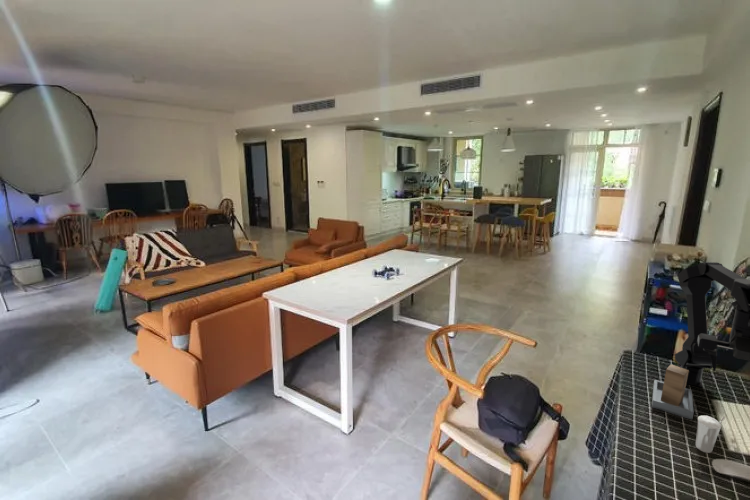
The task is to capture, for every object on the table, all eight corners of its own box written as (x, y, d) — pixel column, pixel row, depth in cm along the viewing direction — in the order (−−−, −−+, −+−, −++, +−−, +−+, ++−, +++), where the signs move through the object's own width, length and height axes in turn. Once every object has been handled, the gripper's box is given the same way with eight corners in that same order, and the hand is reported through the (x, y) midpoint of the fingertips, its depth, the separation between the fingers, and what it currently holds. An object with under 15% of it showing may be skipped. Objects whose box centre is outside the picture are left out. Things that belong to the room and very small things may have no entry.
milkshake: (723, 456, 94) (731, 423, 92) (699, 453, 95) (706, 420, 93) (711, 443, 98) (718, 411, 96) (688, 441, 99) (695, 409, 97)
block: (665, 394, 118) (670, 364, 116) (682, 401, 115) (688, 370, 112) (660, 400, 116) (666, 369, 113) (678, 407, 112) (684, 375, 110)
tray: (653, 386, 124) (654, 379, 123) (690, 396, 118) (691, 389, 118) (651, 407, 113) (653, 400, 113) (692, 419, 108) (693, 412, 107)
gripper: (704, 327, 103) (694, 377, 106) (803, 346, 92) (788, 401, 95) (702, 315, 111) (692, 361, 115) (792, 330, 100) (779, 381, 104)
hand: (735, 375), depth 107 cm, fingers open, 9 cm apart
